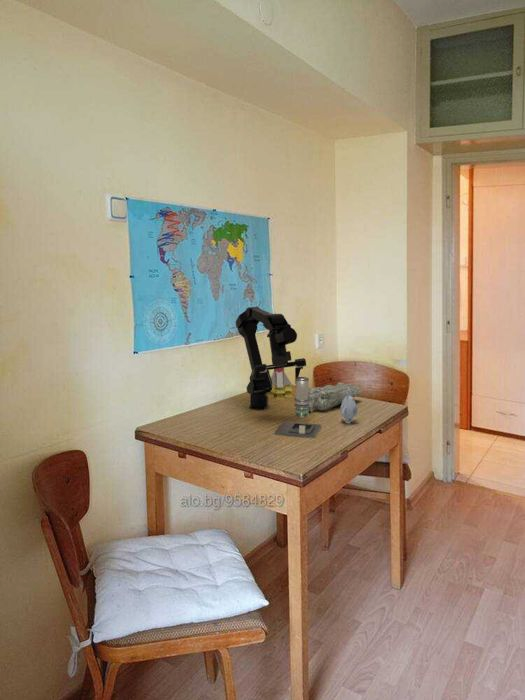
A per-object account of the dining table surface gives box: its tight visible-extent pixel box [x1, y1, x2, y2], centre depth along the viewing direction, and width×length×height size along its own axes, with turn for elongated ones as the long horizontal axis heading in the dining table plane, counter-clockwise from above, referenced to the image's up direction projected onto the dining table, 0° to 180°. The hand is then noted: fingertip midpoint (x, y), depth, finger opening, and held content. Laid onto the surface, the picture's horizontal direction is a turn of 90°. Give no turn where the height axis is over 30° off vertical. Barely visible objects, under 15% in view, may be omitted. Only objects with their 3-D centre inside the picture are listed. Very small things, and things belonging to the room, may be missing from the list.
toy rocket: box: [267, 368, 294, 400], centre depth 233 cm, size 12×12×30 cm
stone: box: [308, 382, 363, 413], centre depth 217 cm, size 12×10×30 cm
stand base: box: [274, 421, 322, 439], centre depth 187 cm, size 14×12×4 cm
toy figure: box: [339, 390, 358, 425], centre depth 196 cm, size 11×6×12 cm, turn 144°
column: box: [294, 376, 310, 418], centre depth 184 cm, size 5×5×13 cm
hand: (284, 388), depth 197 cm, fingers open, 9 cm apart
